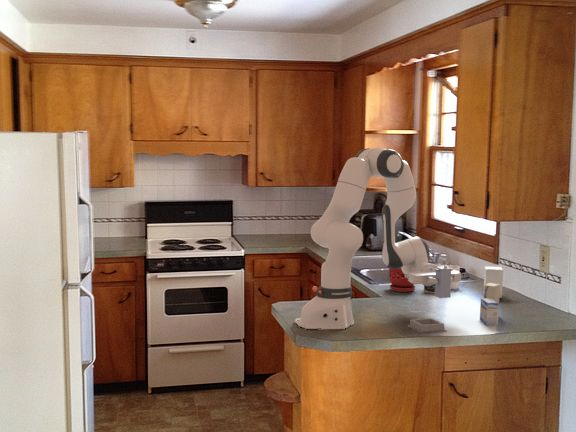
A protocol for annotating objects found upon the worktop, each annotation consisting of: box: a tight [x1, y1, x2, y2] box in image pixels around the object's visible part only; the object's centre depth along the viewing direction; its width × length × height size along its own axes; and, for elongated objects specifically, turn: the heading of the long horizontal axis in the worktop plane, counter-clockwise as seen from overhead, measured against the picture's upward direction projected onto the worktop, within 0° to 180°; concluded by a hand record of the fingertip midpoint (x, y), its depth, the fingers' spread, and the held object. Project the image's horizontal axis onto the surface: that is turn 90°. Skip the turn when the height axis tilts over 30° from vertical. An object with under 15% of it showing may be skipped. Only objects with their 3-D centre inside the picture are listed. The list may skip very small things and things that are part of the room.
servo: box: [434, 264, 453, 299], centre depth 266 cm, size 6×4×12 cm, turn 106°
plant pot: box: [388, 268, 416, 293], centre depth 326 cm, size 13×13×12 cm
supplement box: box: [483, 266, 504, 299], centre depth 315 cm, size 7×7×13 cm
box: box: [483, 283, 500, 317], centre depth 278 cm, size 5×4×13 cm
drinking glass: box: [447, 265, 461, 290], centre depth 331 cm, size 7×7×10 cm
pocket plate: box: [406, 317, 448, 334], centre depth 261 cm, size 11×10×3 cm
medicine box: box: [479, 297, 500, 326], centre depth 269 cm, size 8×4×9 cm, turn 4°
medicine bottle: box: [423, 284, 435, 294], centre depth 324 cm, size 7×7×12 cm
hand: (444, 281), depth 265 cm, fingers closed on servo, 4 cm apart
